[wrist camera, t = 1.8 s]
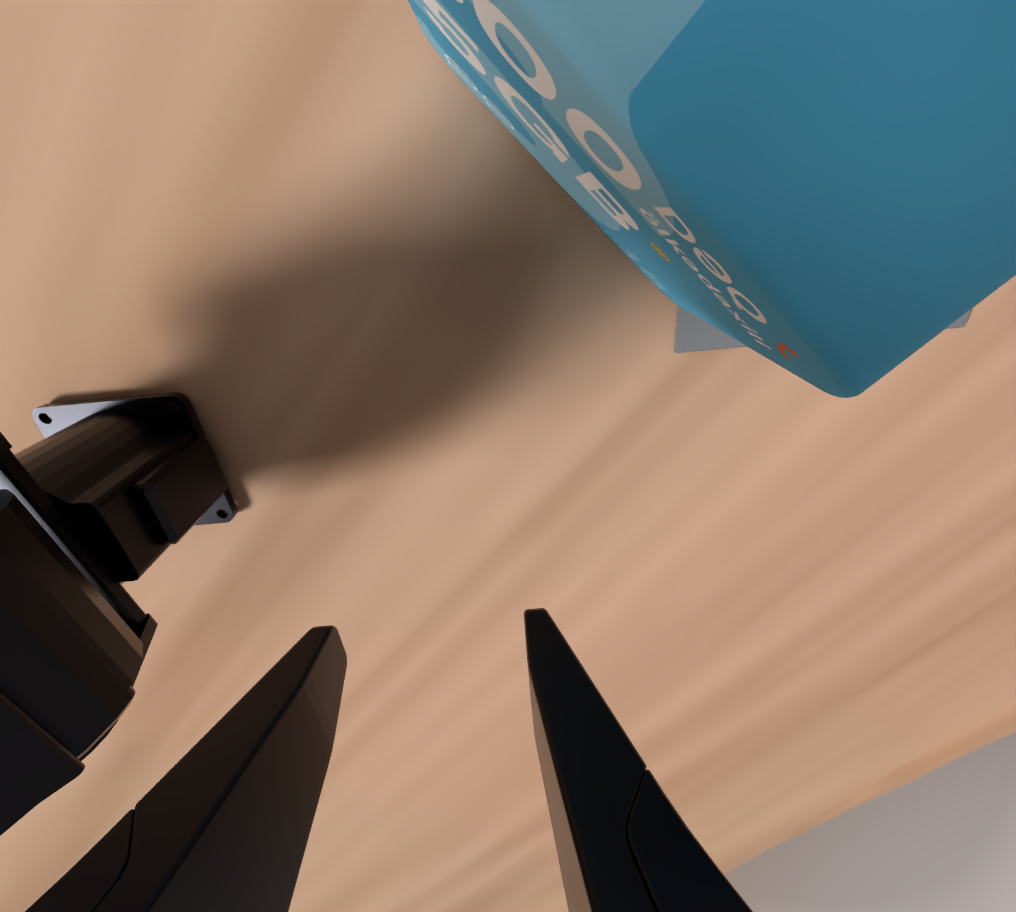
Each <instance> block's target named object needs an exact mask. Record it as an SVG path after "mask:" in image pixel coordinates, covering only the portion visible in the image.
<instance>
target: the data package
mask: <svg viewBox="0 0 1016 912" xmlns="http://www.w3.org/2000/svg"><path fill="white" fill-rule="evenodd" d="M408 1H409V3H410V5H411V7H412V9H413V12H414V14H415V16H416V18H417V20H418V22H419V24H420V26H421V28H422V30H423V32H424V34H425V36H426V37H427V39H428V40H429V42H430V43H431V45H432V46H433V47H434V49H435V50H436V51H437V52H438V54H439V55H440V56H441V57H442V59H443V60H444V61H445V62H446V63H447V65H448V66H449V67H450V68H451V69H452V70H453V71H454V73H455V74H456V75H457V76H458V77H459V78H460V79H461V80H462V81H463V83H464V84H465V85H466V86H467V87H468V88H469V89H470V90H471V91H472V92H473V93H474V94H475V95H476V96H477V97H478V99H479V100H480V101H481V102H482V103H483V104H484V105H485V106H486V107H487V108H488V109H489V110H490V111H491V112H492V113H493V114H494V116H495V117H496V118H497V119H498V120H499V121H500V122H501V123H502V124H503V125H504V126H505V127H506V128H507V129H508V130H509V131H510V133H511V134H512V135H513V136H514V137H515V138H516V139H517V140H518V141H519V142H520V143H521V144H522V145H523V146H524V147H525V148H526V150H527V151H528V152H529V153H530V154H531V155H532V156H533V157H534V158H535V159H536V160H537V161H538V162H539V163H540V164H541V165H542V167H543V168H544V169H545V170H546V171H547V172H548V173H549V174H550V175H551V176H552V177H553V178H554V179H555V180H556V181H557V182H558V184H559V185H560V186H561V187H562V188H563V189H564V190H565V191H566V192H567V193H568V194H569V195H570V196H571V197H572V198H573V199H574V201H575V202H576V203H577V204H578V205H579V206H580V207H581V208H582V209H583V210H584V211H585V212H586V213H587V214H588V215H589V216H590V218H591V219H592V220H593V221H594V222H595V223H596V224H597V225H598V226H599V227H600V228H601V229H602V230H603V231H604V232H605V233H606V235H607V236H608V237H609V238H610V239H611V240H612V241H613V242H614V243H615V244H616V245H617V246H618V247H619V248H620V249H621V250H622V252H623V253H624V254H625V255H626V256H627V257H628V258H629V259H630V260H631V261H632V262H633V263H634V264H635V265H636V266H637V267H638V269H639V270H640V271H641V272H642V273H643V274H644V275H645V276H646V277H647V278H648V279H649V280H650V281H651V282H652V283H653V284H654V285H655V286H656V287H657V288H658V289H659V290H660V291H661V292H662V293H664V294H665V295H666V296H667V297H668V298H669V299H670V300H672V301H673V302H674V303H676V304H677V305H678V306H680V307H682V308H683V309H685V310H687V311H688V312H690V313H692V314H694V315H695V316H697V317H699V318H700V319H702V320H704V321H705V322H707V323H709V324H710V325H712V326H714V327H716V328H717V329H719V330H721V331H722V332H724V333H726V334H727V335H729V336H731V337H732V338H734V339H736V340H738V341H739V342H741V343H743V344H744V345H746V346H748V347H749V348H751V349H753V350H754V351H756V352H758V353H760V354H761V355H763V356H765V357H766V358H768V359H770V360H771V361H773V362H775V363H776V364H778V365H780V366H782V367H783V368H785V369H787V370H788V371H790V372H792V373H793V374H795V375H797V376H798V377H800V378H802V379H804V380H805V381H807V382H809V383H810V384H812V385H814V386H815V387H817V388H819V389H821V390H822V391H824V392H826V393H828V394H831V395H834V396H837V397H842V398H848V397H854V396H857V395H859V394H861V393H862V392H863V391H865V390H866V389H867V388H869V387H870V386H871V385H873V384H874V383H875V382H876V381H878V380H879V379H880V378H882V377H883V376H884V375H886V374H887V373H888V372H890V371H891V370H892V369H893V368H895V367H896V366H897V365H899V364H900V363H901V362H903V361H904V360H905V359H906V358H908V357H909V356H910V355H912V354H913V353H914V352H916V351H917V350H918V349H919V348H921V347H922V346H923V345H925V344H926V343H927V342H929V341H930V340H931V339H933V338H934V337H935V336H936V335H938V334H939V333H940V332H942V331H943V330H944V329H946V328H947V327H948V326H949V325H951V324H952V323H953V322H955V321H956V320H957V319H959V318H960V317H961V316H963V315H964V314H965V313H966V312H968V311H969V310H970V309H972V308H973V307H974V306H976V305H977V304H978V303H979V302H981V301H982V300H983V299H985V298H986V297H987V296H989V295H990V294H991V293H992V292H994V291H995V290H996V289H998V288H999V287H1000V286H1002V285H1003V284H1004V283H1006V282H1007V281H1008V280H1009V279H1011V278H1012V277H1013V276H1015V275H1016V0H408Z"/></svg>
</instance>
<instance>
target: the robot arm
mask: <svg viewBox="0 0 1016 912" xmlns="http://www.w3.org/2000/svg"><path fill="white" fill-rule="evenodd" d="M173 402H176V403H177V404H178V405H179V406H180V409H178V408H176V407H175V406H174V404H173ZM47 415H49V416H50V417H51V419H50V418H49V417H48V416H47ZM32 417H33V419H34V421H35V423H36V424H37V426H38V428H39V429H40V431H41V432H42V434H43V436H44V437H45V439H43V440H41V441H40V442H38V443H36V444H34V445H32V446H30V447H28V448H26V449H24V450H22V451H20V452H19V453H17V454H15V455H14V454H13V453H12V452H11V450H10V448H11V447H12V446H11V444H10V443H9V442H8V441H7V440H6V438H5V437H4V436H3V435H2V433H1V432H0V835H2V834H3V833H4V832H5V831H6V830H8V829H9V828H10V827H11V826H12V825H14V824H15V823H16V822H17V821H18V820H19V819H21V818H22V817H23V816H24V815H25V814H27V813H28V812H29V811H30V810H31V809H33V808H34V807H35V806H36V805H37V804H39V803H40V802H41V801H43V800H44V799H46V798H47V797H49V796H50V795H52V794H53V793H54V792H56V791H57V790H59V789H60V788H62V787H63V786H65V785H66V784H67V783H69V782H70V781H72V780H73V779H75V778H76V777H77V776H79V775H80V774H81V773H82V771H83V770H84V768H85V765H84V764H83V763H82V762H81V761H82V760H83V759H84V758H85V757H86V756H87V755H89V754H90V753H91V752H92V751H93V750H94V749H95V748H96V747H97V746H98V745H99V744H100V743H101V741H102V740H103V739H104V738H105V737H106V736H107V735H108V734H109V732H110V731H111V729H112V728H113V727H114V725H115V724H116V723H117V721H118V719H119V718H120V716H121V715H122V714H123V712H124V711H125V710H126V708H127V707H128V706H129V705H130V703H131V701H132V699H133V697H134V695H135V690H134V689H133V685H134V683H135V680H136V678H137V675H138V673H139V670H140V668H141V665H142V663H143V660H144V658H145V655H146V653H147V650H148V648H149V645H150V643H151V640H152V638H153V635H154V633H155V630H156V628H157V623H156V621H155V620H154V619H153V618H152V616H151V615H150V614H145V613H144V612H143V610H142V609H141V608H140V607H139V606H138V604H137V603H136V602H135V601H134V600H133V598H132V597H131V596H130V595H129V593H128V592H127V591H126V590H125V589H124V587H123V586H122V584H123V583H124V582H126V581H135V580H138V579H139V578H140V577H141V576H142V574H143V573H144V572H145V571H146V570H147V569H148V568H149V567H150V566H151V565H152V564H153V563H154V562H155V561H156V560H157V559H158V558H159V556H160V555H161V554H162V553H163V552H164V551H165V550H166V549H167V548H168V547H169V546H170V545H171V544H176V543H178V542H179V541H180V540H181V538H182V537H183V536H184V535H185V534H186V533H187V532H188V531H189V530H190V529H191V528H192V527H193V526H194V525H202V524H213V523H225V522H229V521H231V520H232V519H233V518H234V517H235V515H236V514H237V508H236V506H235V503H234V501H233V499H232V496H231V494H230V492H229V489H228V485H227V483H226V480H225V478H224V476H223V473H222V471H221V469H220V466H219V464H218V462H217V459H216V457H215V455H214V453H213V450H212V448H211V446H210V443H209V441H208V440H207V439H206V437H205V434H204V432H203V430H202V427H201V425H200V423H199V420H198V418H197V416H196V414H195V411H194V409H193V407H192V404H191V402H190V401H189V399H188V398H187V397H186V396H184V395H183V394H180V393H163V394H152V395H141V396H130V397H119V398H108V399H97V400H86V401H75V402H64V403H53V404H45V405H42V406H40V407H38V408H36V409H34V410H33V411H32ZM222 510H224V511H226V512H227V513H224V512H223V511H222ZM524 622H525V636H526V650H527V662H528V673H529V683H530V694H531V705H532V715H533V725H534V734H535V740H536V746H537V751H538V756H539V761H540V766H541V771H542V777H543V782H544V787H545V792H546V797H547V802H548V807H549V812H550V818H551V823H552V828H553V833H554V838H555V843H556V848H557V853H558V858H559V864H560V869H561V874H562V879H563V884H564V889H565V894H566V899H567V905H568V910H569V912H753V911H752V910H751V909H750V908H749V906H748V905H747V904H746V903H745V901H744V900H743V899H742V897H741V896H740V895H739V894H738V892H737V891H736V890H735V889H734V888H733V886H732V885H731V884H730V882H729V881H728V880H727V879H726V877H725V876H724V875H723V873H722V872H721V871H720V870H719V868H718V867H717V866H716V864H715V863H714V862H713V860H712V859H711V858H710V856H709V855H708V854H707V852H706V851H705V850H704V849H703V847H702V846H701V845H700V843H699V842H698V841H697V839H696V838H695V837H694V835H693V834H692V833H691V831H690V830H689V829H688V827H687V826H686V824H685V823H684V821H683V820H682V818H681V817H680V815H679V814H678V812H677V811H676V810H675V808H674V807H673V805H672V804H671V802H670V801H669V799H668V798H667V796H666V795H665V793H664V792H663V790H662V789H661V787H660V786H659V784H658V782H657V781H656V779H655V778H654V776H653V775H652V773H651V772H650V771H649V770H646V764H645V763H644V761H643V760H642V758H641V756H640V755H639V753H638V752H637V750H636V749H635V747H634V746H633V744H632V742H631V741H630V739H629V738H628V736H627V735H626V733H625V731H624V730H623V728H622V727H621V725H620V724H619V722H618V721H617V719H616V717H615V716H614V714H613V713H612V711H611V710H610V708H609V707H608V705H607V703H606V702H605V700H604V699H603V697H602V696H601V694H600V693H599V691H598V689H597V688H596V686H595V685H594V683H593V682H592V680H591V679H590V677H589V675H588V674H587V672H586V671H585V669H584V668H583V666H582V664H581V663H580V661H579V660H578V658H577V657H576V655H575V654H574V652H573V650H572V649H571V647H570V646H569V644H568V643H567V641H566V640H565V638H564V636H563V635H562V633H561V632H560V630H559V629H558V627H557V626H556V624H555V622H554V621H553V619H552V618H551V616H550V615H549V613H548V612H547V610H546V609H544V608H537V609H527V610H525V612H524ZM346 667H347V656H346V652H345V649H344V647H343V644H342V641H341V638H340V636H339V633H338V630H337V628H336V627H335V626H331V625H330V626H318V627H313V628H312V629H310V630H309V631H308V632H307V633H306V634H305V635H304V636H303V637H302V638H301V639H300V640H299V641H298V642H297V643H296V644H295V645H294V646H293V647H292V648H291V649H290V650H289V651H288V652H287V653H286V654H285V655H284V656H283V657H282V658H281V659H280V660H279V661H278V662H277V663H276V664H275V665H274V666H273V667H272V668H271V669H270V670H269V671H268V672H267V673H266V674H265V675H264V676H263V677H262V678H261V679H260V680H259V681H258V682H257V683H256V684H255V685H254V686H253V687H252V688H251V689H250V690H249V691H248V692H247V693H246V694H245V695H244V696H243V697H242V698H241V699H240V700H239V701H238V702H237V703H236V704H235V705H234V706H233V707H232V708H231V709H230V711H229V712H228V713H227V714H226V715H225V716H224V717H223V718H222V719H221V720H220V721H219V722H218V723H217V724H216V725H215V726H214V727H213V728H212V729H211V730H210V731H209V732H208V733H207V734H206V735H205V736H204V737H203V738H202V739H201V740H200V741H199V742H198V743H197V744H196V745H195V746H194V747H193V748H192V749H191V750H190V751H189V752H188V753H187V754H186V755H185V756H184V757H183V758H182V759H181V760H180V761H179V762H178V763H177V764H176V765H175V766H174V767H173V768H172V769H171V770H170V771H169V772H168V773H167V774H166V775H165V776H164V777H163V778H162V779H161V780H160V781H159V782H158V783H157V784H156V785H155V786H154V787H153V788H152V789H151V790H150V791H149V792H148V793H147V794H146V795H145V796H144V797H143V798H142V799H141V800H140V801H139V802H138V803H137V804H136V807H135V809H132V810H130V811H129V812H128V813H127V814H126V815H125V816H124V817H123V818H122V819H121V820H120V821H119V822H118V823H117V824H116V825H115V826H114V827H113V828H112V829H111V830H110V831H109V832H108V833H107V834H106V835H105V836H104V837H103V838H102V839H101V840H100V841H99V842H98V843H97V844H96V845H95V846H94V847H93V848H92V849H91V850H90V851H89V852H88V853H87V854H86V855H85V856H84V857H83V858H82V859H80V860H79V861H78V862H77V863H76V864H75V865H74V866H73V867H72V868H71V869H70V870H69V871H68V872H67V873H66V874H65V875H64V876H63V877H62V878H61V879H60V880H59V881H58V882H56V883H55V884H54V885H53V886H52V887H51V888H50V889H49V890H48V891H47V892H46V893H45V894H44V895H42V896H41V897H40V898H39V899H38V900H37V901H36V902H35V903H34V904H33V905H32V906H31V907H30V908H28V909H27V910H26V911H25V912H288V910H289V907H290V903H291V899H292V896H293V892H294V888H295V885H296V881H297V878H298V874H299V870H300V867H301V863H302V859H303V856H304V852H305V848H306V845H307V841H308V838H309V834H310V830H311V827H312V823H313V819H314V816H315V812H316V808H317V805H318V801H319V797H320V794H321V790H322V787H323V783H324V779H325V776H326V772H327V768H328V765H329V761H330V757H331V753H332V748H333V743H334V738H335V732H336V726H337V721H338V715H339V709H340V703H341V697H342V691H343V685H344V679H345V673H346Z"/></svg>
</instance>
